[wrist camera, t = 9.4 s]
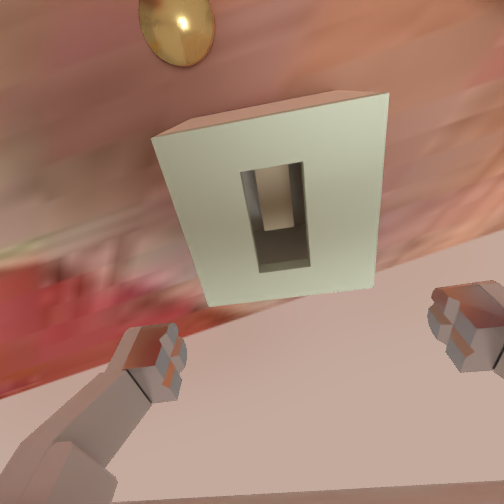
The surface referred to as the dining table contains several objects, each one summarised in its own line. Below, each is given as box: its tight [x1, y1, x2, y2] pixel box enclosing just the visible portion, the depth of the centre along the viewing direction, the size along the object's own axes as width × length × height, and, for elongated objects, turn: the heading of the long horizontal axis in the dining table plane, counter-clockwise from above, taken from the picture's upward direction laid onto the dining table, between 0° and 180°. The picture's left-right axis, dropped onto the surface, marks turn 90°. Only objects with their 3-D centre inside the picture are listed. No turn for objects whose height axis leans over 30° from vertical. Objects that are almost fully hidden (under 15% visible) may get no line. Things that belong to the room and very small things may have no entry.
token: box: [254, 164, 294, 231], centre depth 22 cm, size 5×2×5 cm, turn 10°
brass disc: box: [139, 0, 215, 67], centre depth 19 cm, size 5×5×2 cm
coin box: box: [151, 90, 389, 307], centre depth 21 cm, size 12×12×10 cm
